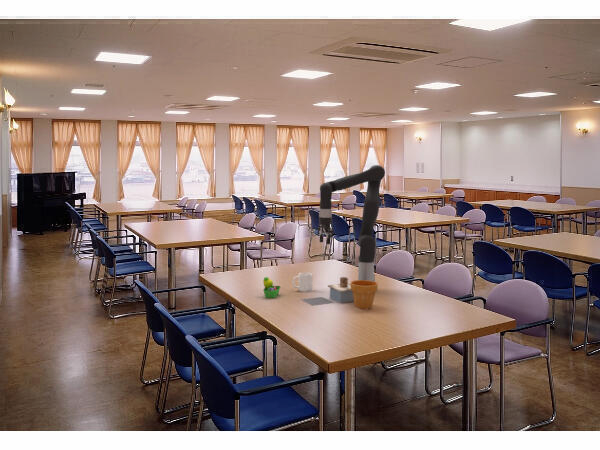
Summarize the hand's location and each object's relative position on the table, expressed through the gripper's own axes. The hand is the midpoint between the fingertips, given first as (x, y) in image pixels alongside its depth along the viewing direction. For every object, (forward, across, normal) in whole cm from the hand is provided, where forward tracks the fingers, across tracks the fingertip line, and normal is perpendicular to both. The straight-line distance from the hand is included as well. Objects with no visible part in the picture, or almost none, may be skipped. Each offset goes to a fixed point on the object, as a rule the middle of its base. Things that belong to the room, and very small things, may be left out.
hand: (324, 243), depth 318 cm
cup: (+28, +2, +14) cm, 32 cm away
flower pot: (+28, -44, +2) cm, 52 cm away
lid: (+21, -28, +4) cm, 35 cm away
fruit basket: (+28, -3, +37) cm, 47 cm away
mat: (+28, -25, +19) cm, 42 cm away
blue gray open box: (+28, -28, +4) cm, 40 cm away
